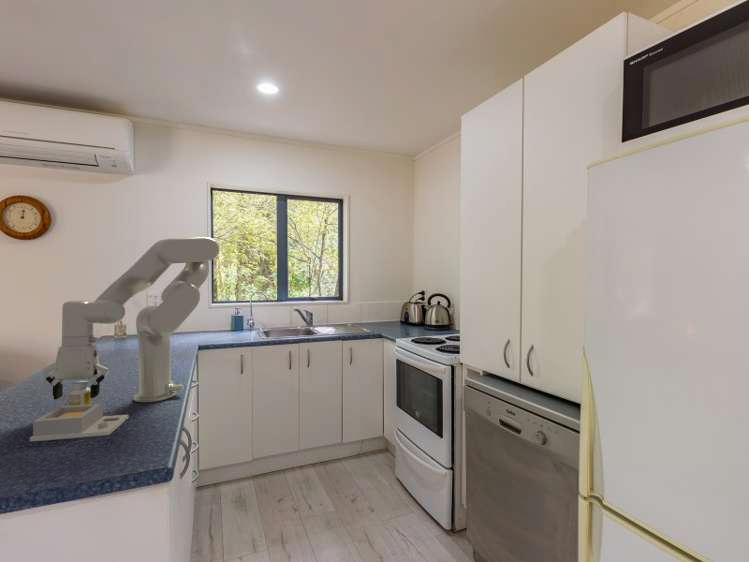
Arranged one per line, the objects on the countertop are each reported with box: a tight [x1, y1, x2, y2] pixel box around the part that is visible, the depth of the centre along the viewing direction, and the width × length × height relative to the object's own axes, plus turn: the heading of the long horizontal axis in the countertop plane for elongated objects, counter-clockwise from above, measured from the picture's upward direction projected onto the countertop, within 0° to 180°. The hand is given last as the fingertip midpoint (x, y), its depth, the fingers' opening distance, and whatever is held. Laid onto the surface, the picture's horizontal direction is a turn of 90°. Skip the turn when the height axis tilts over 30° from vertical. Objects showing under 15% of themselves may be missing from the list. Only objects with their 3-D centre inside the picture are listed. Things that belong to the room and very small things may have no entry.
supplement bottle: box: [68, 380, 92, 406], centre depth 115 cm, size 5×5×10 cm
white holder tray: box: [29, 403, 129, 442], centre depth 104 cm, size 18×12×5 cm, turn 102°
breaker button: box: [57, 411, 85, 418], centre depth 103 cm, size 5×5×2 cm
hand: (76, 397), depth 114 cm, fingers open, 9 cm apart
